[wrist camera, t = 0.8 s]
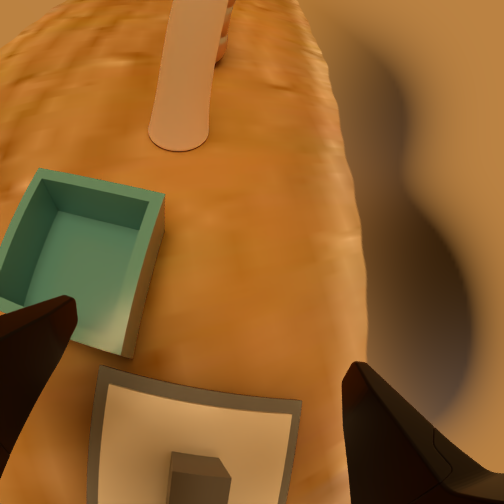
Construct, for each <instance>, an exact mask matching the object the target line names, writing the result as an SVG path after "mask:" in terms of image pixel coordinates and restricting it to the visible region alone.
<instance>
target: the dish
mask: <svg viewBox="0 0 504 504" xmlns="http://www.w3.org/2000/svg"><path fill="white" fill-rule="evenodd" d="M164 231H165V194H163V193H158V192H154V191H150V190H145V189H141V188H136V187H132V186H127V185H122V184H118V183H113V182H108V181H104V180H99V179H94V178H89V177H84V176H79V175H74V174H69V173H64V172H58V171H53V170H48V169H42V168H39V169H38V170H37V172H36V174H35V175H34V177H33V179H32V181H31V183H30V184H29V186H28V188H27V190H26V192H25V194H24V196H23V198H22V200H21V201H20V203H19V206H18V208H17V210H16V212H15V214H14V216H13V218H12V220H11V222H10V225H9V227H8V229H7V232H6V234H5V236H4V239H3V241H2V244H1V246H0V311H1V312H3V313H5V314H6V313H9V312H12V311H15V310H18V309H21V308H25V307H28V306H31V305H34V304H37V303H40V302H43V301H46V300H49V299H52V298H55V297H58V296H61V295H67V296H70V297H73V298H74V299H75V300H76V306H77V314H78V323H77V326H76V328H75V330H74V332H73V334H72V336H71V338H70V340H72V341H74V342H77V343H80V344H83V345H86V346H89V347H93V348H96V349H99V350H102V351H105V352H109V353H112V354H116V355H119V356H123V357H126V358H130V359H133V356H134V351H135V346H136V341H137V336H138V331H139V327H140V322H141V318H142V313H143V309H144V305H145V301H146V297H147V293H148V289H149V285H150V281H151V277H152V273H153V269H154V266H155V262H156V258H157V255H158V251H159V248H160V244H161V241H162V237H163V234H164Z"/></svg>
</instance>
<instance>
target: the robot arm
mask: <svg viewBox="0 0 504 504" xmlns="http://www.w3.org/2000/svg"><path fill="white" fill-rule="evenodd" d="M77 323H78V314H77V306H76V300H75V299H74V298H73V297H70V296H67V295H61V296H58V297H55V298H52V299H49V300H46V301H43V302H40V303H37V304H34V305H31V306H28V307H25V308H21V309H18V310H15V311H12V312H9V313H6V314H3V315H1V316H0V478H1V476H2V473H3V471H4V468H5V466H6V464H7V461H8V459H9V457H10V455H9V454H11V452H12V450H13V447H14V445H15V443H16V441H17V439H18V437H19V434H20V432H21V430H22V428H23V426H24V424H25V422H26V420H27V418H28V416H29V414H30V412H31V411H32V409H33V407H34V405H35V403H36V401H37V399H38V397H39V396H40V394H41V392H42V390H43V388H44V387H45V385H46V383H47V381H48V380H49V378H50V376H51V374H52V373H53V371H54V369H55V368H56V366H57V364H58V363H59V361H60V359H61V357H62V355H63V353H64V351H65V348H66V346H67V344H68V342H69V340H70V338H71V336H72V334H73V332H74V330H75V328H76V326H77ZM342 416H343V431H344V439H345V447H346V456H347V465H348V474H349V485H350V496H351V504H504V474H501V473H494V472H490V471H489V470H487V469H485V468H483V467H482V466H481V465H480V464H478V463H477V462H476V461H474V460H473V459H472V458H470V457H469V456H468V455H467V454H465V453H464V452H462V451H461V450H460V449H459V448H458V447H456V446H455V445H454V444H453V443H451V442H450V441H449V440H448V439H447V438H446V437H445V436H444V435H442V434H441V433H440V432H439V431H438V430H437V429H436V428H434V426H433V425H432V424H431V423H430V422H429V421H427V420H426V419H425V418H424V417H423V416H422V415H421V414H420V413H419V412H418V411H417V410H416V409H415V408H414V407H413V406H412V405H410V404H409V403H408V402H407V401H406V400H405V399H404V398H403V397H402V396H401V395H400V394H399V393H398V392H397V391H396V390H394V389H393V388H392V387H391V386H390V385H389V384H388V383H387V382H386V381H385V380H384V379H383V378H382V377H381V376H380V375H379V374H377V373H376V372H375V371H374V370H373V369H372V368H371V367H370V366H369V365H368V364H367V363H365V362H358V361H355V362H353V363H352V364H351V366H350V368H349V369H348V371H347V373H346V375H345V376H344V378H343V381H342Z"/></svg>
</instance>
